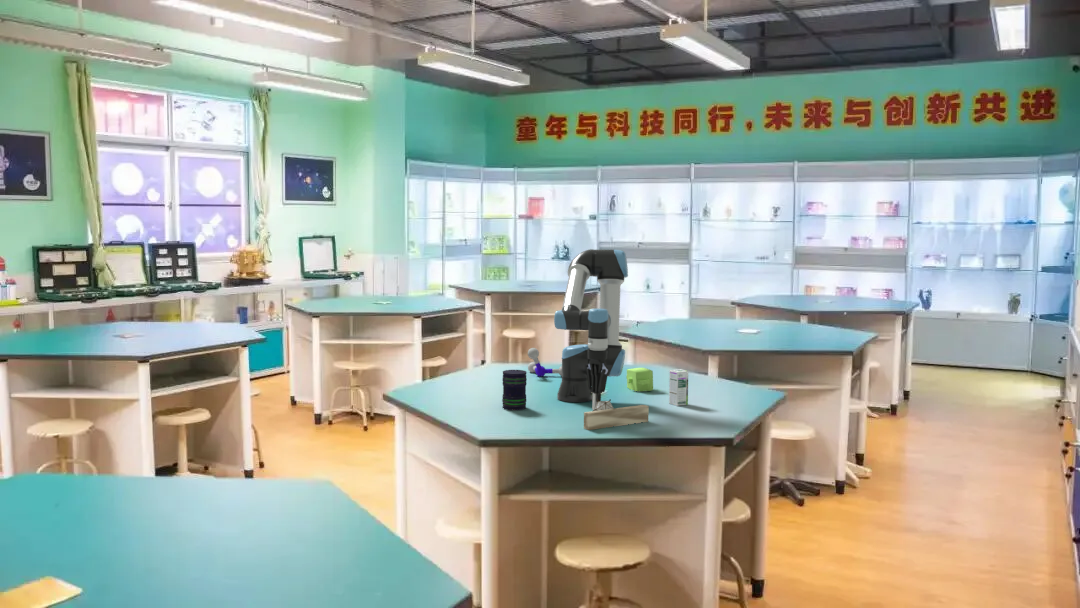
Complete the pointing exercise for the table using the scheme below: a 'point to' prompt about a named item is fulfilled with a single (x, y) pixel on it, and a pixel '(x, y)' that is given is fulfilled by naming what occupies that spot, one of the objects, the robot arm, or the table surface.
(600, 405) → the game die
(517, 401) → the storage jar
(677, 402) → the syrup box
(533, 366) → the molecular model
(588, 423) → the birch board
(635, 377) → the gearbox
